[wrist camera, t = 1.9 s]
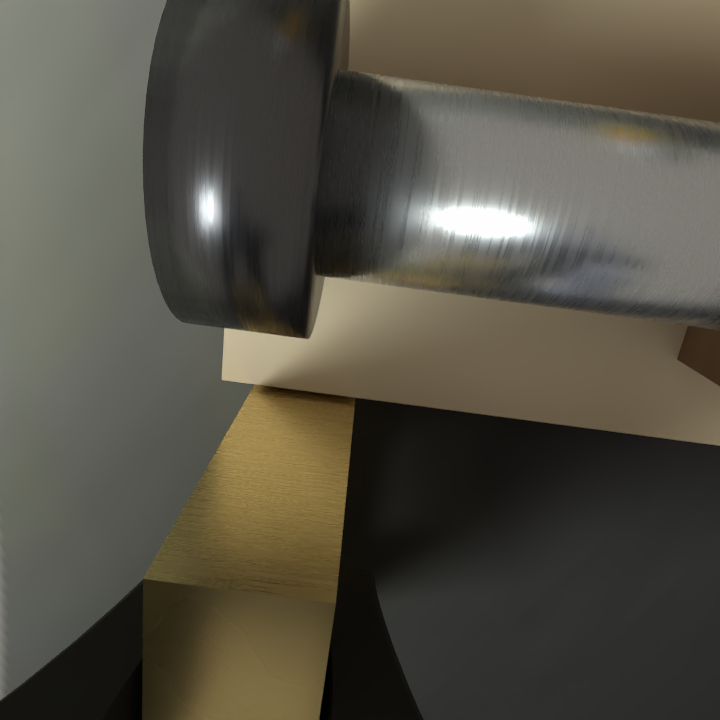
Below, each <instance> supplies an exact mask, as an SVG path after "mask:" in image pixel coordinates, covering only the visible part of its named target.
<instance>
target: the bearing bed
mask: <svg viewBox="0 0 720 720" xmlns="http://www.w3.org/2000/svg"><path fill="white" fill-rule="evenodd" d="M349 1H350V43H349V66H348V70H349V71H356V72H363V73H370V74H378V75H385V76H392V77H399V78H406V79H413V80H420V81H427V82H434V83H442V84H449V85H456V86H463V87H470V88H477V89H484V90H491V91H499V92H506V93H513V94H520V95H527V96H534V97H541V98H548V99H555V100H563V101H570V102H577V103H584V104H591V105H598V106H605V107H612V108H620V109H627V110H634V111H641V112H648V113H655V114H662V115H669V116H676V117H684V118H691V119H698V120H705V121H712V122H719V123H720V0H349ZM222 380H227V381H234V382H242V383H249V384H257V385H264V386H272V387H279V388H287V389H295V390H302V391H310V392H317V393H325V394H332V395H340V396H348V397H355V398H363V399H370V400H378V401H385V402H393V403H401V404H408V405H416V406H423V407H431V408H438V409H446V410H454V411H461V412H469V413H476V414H484V415H491V416H499V417H506V418H514V419H522V420H529V421H537V422H544V423H552V424H559V425H567V426H575V427H582V428H590V429H597V430H605V431H612V432H620V433H628V434H635V435H643V436H650V437H658V438H665V439H673V440H680V441H688V442H696V443H703V444H711V445H718V446H720V330H715V329H708V328H700V327H693V326H685V325H678V324H671V323H663V322H656V321H648V320H641V319H634V318H626V317H619V316H611V315H604V314H597V313H589V312H582V311H574V310H567V309H560V308H552V307H545V306H537V305H530V304H523V303H515V302H508V301H500V300H493V299H486V298H478V297H471V296H463V295H456V294H449V293H441V292H434V291H426V290H419V289H412V288H404V287H397V286H389V285H382V284H375V283H367V282H360V281H352V280H345V279H338V278H330V277H325V279H324V285H323V290H322V295H321V300H320V305H319V310H318V314H317V318H316V322H315V325H314V329H313V331H312V334H311V336H310V338H309V339H302V338H295V337H287V336H280V335H272V334H265V333H257V332H250V331H242V330H235V329H227V328H225V330H224V348H223V366H222Z"/></svg>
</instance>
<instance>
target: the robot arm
mask: <svg viewBox="0 0 720 720" xmlns="http://www.w3.org/2000/svg"><path fill="white" fill-rule="evenodd" d="M142 670H143V580H142V581H141V582H140V583H139V584H138V585H137V586H136V587H135V588H134V589H133V590H131V591H130V592H129V593H128V594H127V595H126V596H125V597H124V598H123V599H122V600H121V601H120V602H119V603H118V604H116V605H115V606H114V607H113V608H112V609H111V610H110V611H108V612H107V613H106V614H105V615H104V616H103V617H102V618H101V619H99V620H98V621H97V622H96V623H95V624H94V625H93V626H92V627H90V628H89V629H88V630H87V631H86V632H85V633H84V634H83V635H81V636H80V637H79V638H78V639H77V640H76V641H74V642H73V643H72V644H71V645H70V646H68V647H67V648H66V649H65V650H63V651H62V652H61V653H60V654H59V655H57V656H56V657H55V658H54V659H52V660H51V661H50V662H49V663H47V664H46V665H45V666H44V667H43V668H41V669H40V670H39V671H38V672H36V673H35V674H34V675H33V676H31V677H30V678H29V679H28V680H26V681H25V682H24V683H23V684H21V685H20V686H19V687H18V688H16V689H15V690H14V691H12V692H11V693H10V694H8V695H7V696H6V697H4V698H3V699H2V700H1V701H0V720H142ZM319 720H423V718H422V716H421V713H420V711H419V709H418V707H417V704H416V702H415V700H414V697H413V695H412V693H411V691H410V688H409V686H408V683H407V681H406V678H405V675H404V673H403V670H402V668H401V665H400V663H399V660H398V658H397V655H396V653H395V650H394V647H393V644H392V641H391V639H390V636H389V633H388V630H387V627H386V623H385V620H384V617H383V614H382V611H381V607H380V603H379V600H378V596H377V591H376V587H375V582H374V577H373V576H372V574H371V573H370V572H369V571H367V570H360V569H352V568H344V567H339V576H338V586H337V597H336V606H335V613H334V620H333V627H332V633H331V640H330V647H329V654H328V661H327V668H326V675H325V682H324V689H323V696H322V703H321V709H320V716H319Z"/></svg>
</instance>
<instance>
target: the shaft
mask: <svg viewBox="0 0 720 720" xmlns="http://www.w3.org/2000/svg"><path fill="white" fill-rule="evenodd" d="M349 43H350V1H349V0H167V3H166V5H165V8H164V11H163V14H162V17H161V21H160V24H159V28H158V32H157V35H156V39H155V44H154V50H153V55H152V60H151V65H150V72H149V79H148V87H147V94H146V106H145V119H144V138H143V189H144V203H145V217H146V225H147V233H148V241H149V247H150V252H151V257H152V263H153V267H154V271H155V274H156V278H157V282H158V285H159V287H160V290H161V293H162V295H163V298H164V300H165V302H166V304H167V306H168V307H169V309H170V311H171V312H172V313H173V314H174V316H175V317H176V318H177V319H179V320H180V321H182V322H185V323H190V324H197V325H205V326H212V327H220V328H227V329H235V330H242V331H250V332H257V333H265V334H272V335H280V336H287V337H295V338H302V339H309V338H310V336H311V334H312V331H313V329H314V325H315V322H316V318H317V314H318V310H319V305H320V300H321V295H322V290H323V285H324V279H325V277H330V278H338V279H345V280H352V281H360V282H367V283H375V284H382V285H389V286H397V287H404V288H412V289H419V290H426V291H434V292H441V293H449V294H456V295H463V296H471V297H478V298H486V299H493V300H500V301H508V302H515V303H523V304H530V305H537V306H545V307H552V308H560V309H567V310H574V311H582V312H589V313H597V314H604V315H611V316H619V317H626V318H634V319H641V320H648V321H656V322H663V323H671V324H678V325H685V326H693V327H700V328H708V329H715V330H720V123H719V122H712V121H705V120H698V119H691V118H684V117H676V116H669V115H662V114H655V113H648V112H641V111H634V110H627V109H620V108H612V107H605V106H598V105H591V104H584V103H577V102H570V101H563V100H555V99H548V98H541V97H534V96H527V95H520V94H513V93H506V92H499V91H491V90H484V89H477V88H470V87H463V86H456V85H449V84H442V83H434V82H427V81H420V80H413V79H406V78H399V77H392V76H385V75H378V74H370V73H363V72H356V71H349V70H348V66H349Z"/></svg>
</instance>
